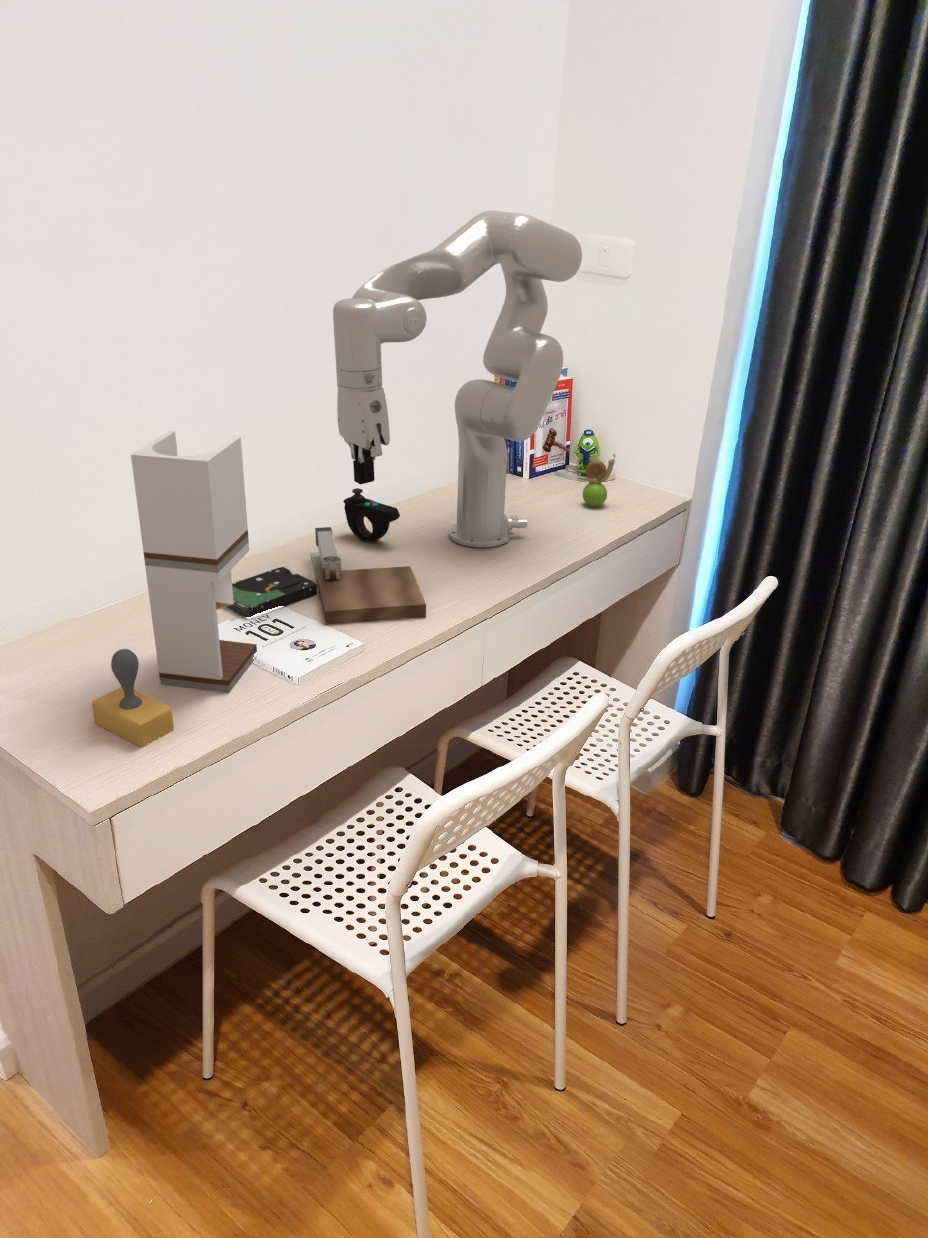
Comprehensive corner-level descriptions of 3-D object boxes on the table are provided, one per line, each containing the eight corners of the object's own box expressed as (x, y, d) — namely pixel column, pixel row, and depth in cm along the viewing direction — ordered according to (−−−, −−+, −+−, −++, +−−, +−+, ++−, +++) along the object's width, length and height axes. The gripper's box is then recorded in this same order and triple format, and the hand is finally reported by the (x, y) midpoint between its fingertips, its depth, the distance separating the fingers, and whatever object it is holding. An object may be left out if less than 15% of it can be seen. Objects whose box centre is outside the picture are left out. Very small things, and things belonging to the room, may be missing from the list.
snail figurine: (611, 510, 215) (617, 457, 209) (582, 509, 215) (587, 456, 209) (608, 501, 219) (614, 450, 214) (580, 501, 219) (584, 449, 214)
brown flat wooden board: (397, 549, 192) (397, 537, 190) (425, 617, 166) (426, 604, 164) (310, 554, 188) (310, 542, 187) (325, 624, 162) (324, 611, 161)
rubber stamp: (93, 724, 134) (80, 647, 128) (128, 706, 138) (117, 631, 133) (141, 749, 129) (130, 670, 124) (175, 729, 133) (166, 652, 128)
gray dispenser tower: (229, 692, 142) (207, 461, 126) (160, 684, 143) (130, 454, 128) (257, 655, 152) (240, 436, 136) (193, 648, 154) (169, 430, 138)
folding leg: (342, 578, 171) (341, 562, 170) (323, 579, 171) (323, 563, 169) (332, 541, 186) (331, 526, 185) (315, 542, 186) (314, 527, 184)
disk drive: (282, 579, 179) (213, 603, 169) (281, 565, 178) (212, 588, 168) (318, 597, 173) (249, 622, 163) (318, 582, 171) (248, 607, 162)
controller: (354, 530, 200) (353, 484, 195) (402, 545, 194) (402, 497, 189) (340, 536, 196) (339, 489, 192) (389, 551, 190) (389, 503, 186)
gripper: (403, 383, 159) (406, 489, 167) (355, 364, 169) (360, 465, 178) (363, 390, 155) (368, 499, 163) (317, 371, 165) (324, 474, 174)
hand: (364, 481), depth 171 cm, fingers closed
